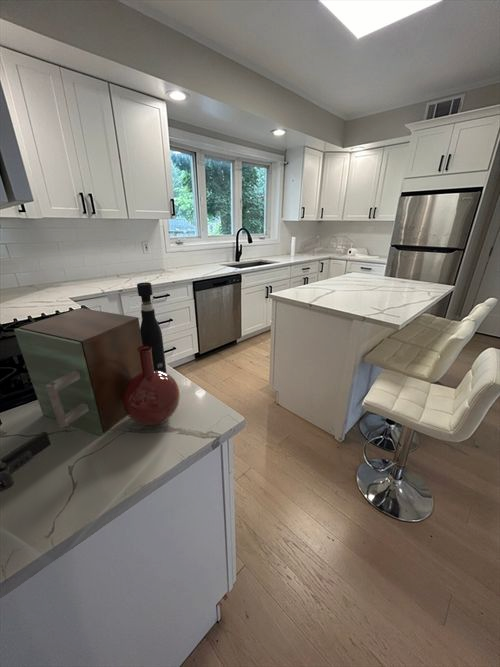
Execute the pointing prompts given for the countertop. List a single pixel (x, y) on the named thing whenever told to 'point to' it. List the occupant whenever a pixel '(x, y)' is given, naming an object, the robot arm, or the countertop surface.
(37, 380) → the cupboard door
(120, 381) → the cupboard
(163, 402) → the round-bottom flask
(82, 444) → the countertop surface
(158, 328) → the wine bottle
